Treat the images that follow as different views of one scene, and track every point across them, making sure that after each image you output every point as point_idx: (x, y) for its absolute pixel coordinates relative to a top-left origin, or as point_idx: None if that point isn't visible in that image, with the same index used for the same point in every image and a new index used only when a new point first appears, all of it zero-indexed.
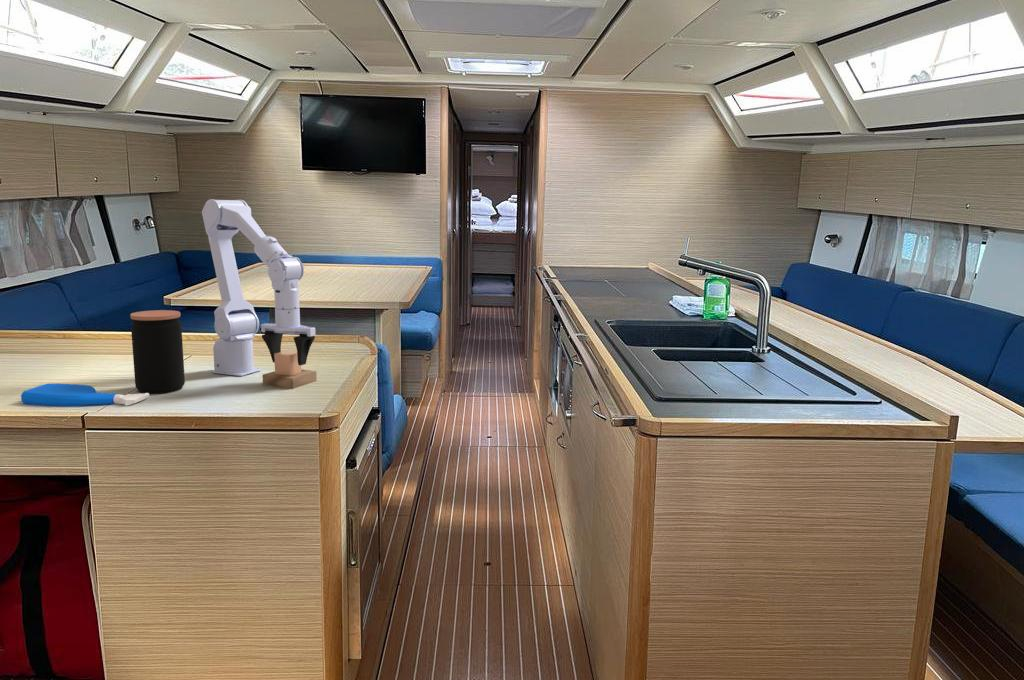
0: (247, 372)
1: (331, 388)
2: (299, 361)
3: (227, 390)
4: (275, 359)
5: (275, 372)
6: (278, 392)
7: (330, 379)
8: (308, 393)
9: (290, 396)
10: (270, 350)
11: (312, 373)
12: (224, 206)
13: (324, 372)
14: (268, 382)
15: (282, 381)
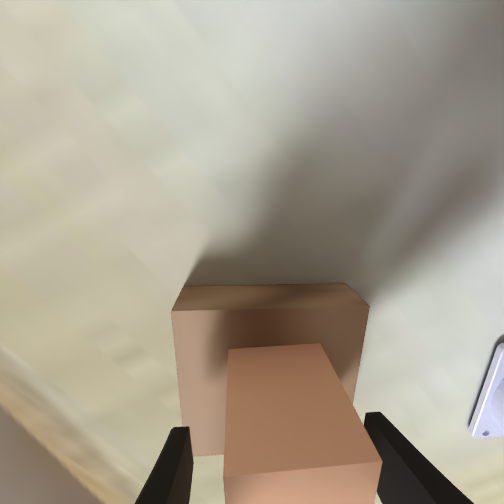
0: (495, 380)
1: (46, 357)
2: (168, 451)
3: (437, 126)
4: (349, 414)
5: (319, 348)
6: (190, 202)
7: None
8: (54, 248)
9: (77, 161)
10: (453, 499)
11: None
12: None
13: None
14: (320, 290)
15: (240, 297)
